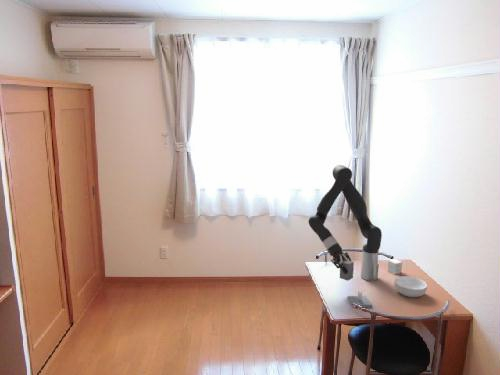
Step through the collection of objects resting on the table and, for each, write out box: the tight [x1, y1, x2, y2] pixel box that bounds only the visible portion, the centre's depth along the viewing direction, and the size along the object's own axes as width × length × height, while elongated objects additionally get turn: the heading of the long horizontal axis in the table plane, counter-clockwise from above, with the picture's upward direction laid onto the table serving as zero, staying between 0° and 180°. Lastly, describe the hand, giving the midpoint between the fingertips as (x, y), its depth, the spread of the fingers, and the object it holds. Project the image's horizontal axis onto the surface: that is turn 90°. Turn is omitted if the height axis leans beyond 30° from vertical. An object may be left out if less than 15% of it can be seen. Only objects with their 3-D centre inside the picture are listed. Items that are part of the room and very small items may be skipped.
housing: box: [339, 259, 355, 282], centre depth 221 cm, size 5×5×10 cm
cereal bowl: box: [394, 275, 428, 298], centre depth 223 cm, size 17×17×7 cm
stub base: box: [346, 291, 373, 309], centre depth 212 cm, size 10×10×6 cm
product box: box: [387, 258, 403, 275], centre depth 254 cm, size 6×6×7 cm
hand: (349, 271), depth 220 cm, fingers closed on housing, 5 cm apart
